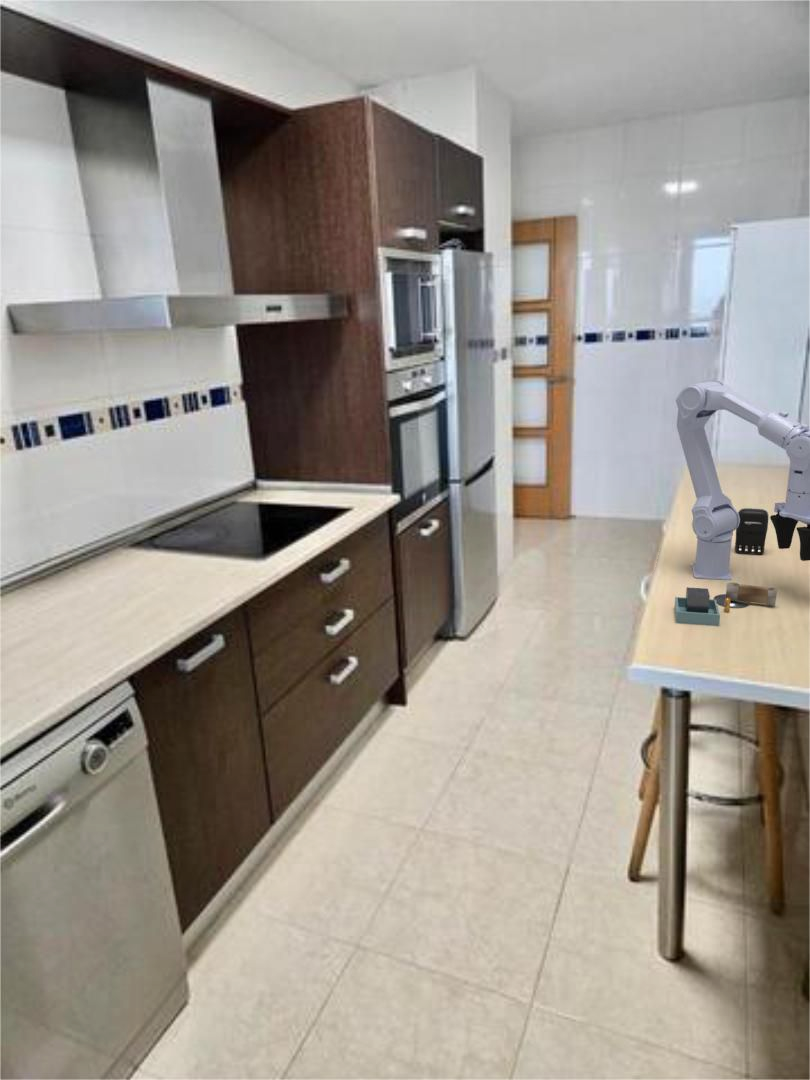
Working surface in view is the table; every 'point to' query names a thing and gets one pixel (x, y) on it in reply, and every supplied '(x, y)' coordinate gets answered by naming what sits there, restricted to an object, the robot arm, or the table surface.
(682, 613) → the tray
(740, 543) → the battery charger
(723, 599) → the crank base
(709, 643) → the table surface
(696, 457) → the robot arm
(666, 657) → the table surface
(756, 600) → the crank
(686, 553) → the table surface
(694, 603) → the block
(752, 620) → the table surface
